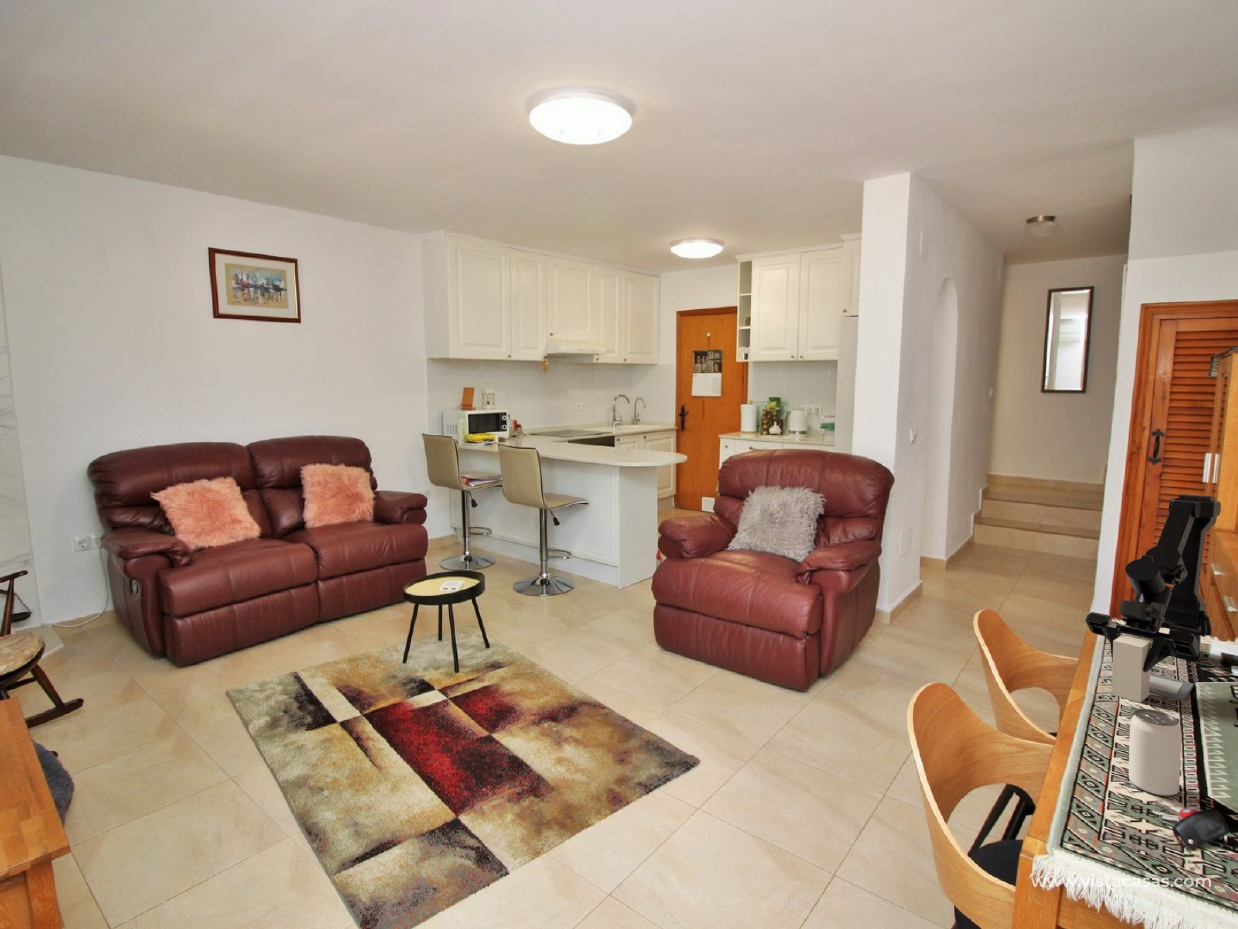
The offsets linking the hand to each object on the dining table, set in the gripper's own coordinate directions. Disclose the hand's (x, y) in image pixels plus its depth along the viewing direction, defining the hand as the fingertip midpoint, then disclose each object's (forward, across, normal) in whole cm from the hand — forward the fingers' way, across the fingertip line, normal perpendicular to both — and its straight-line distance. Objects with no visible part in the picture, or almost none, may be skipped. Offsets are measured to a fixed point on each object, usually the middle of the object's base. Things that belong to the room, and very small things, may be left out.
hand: (1128, 667), depth 135 cm
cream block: (+4, 0, +6) cm, 7 cm away
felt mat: (-3, +2, +12) cm, 13 cm away
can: (+28, +14, -19) cm, 37 cm away
